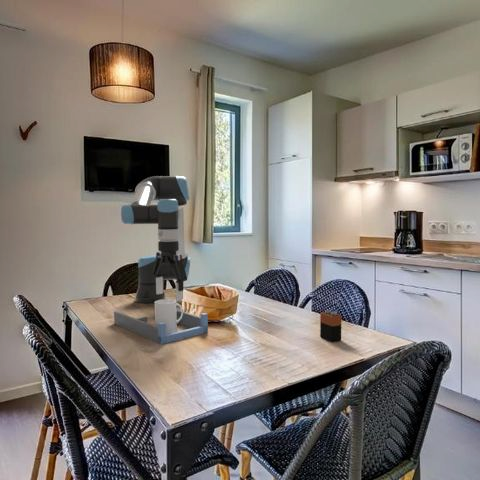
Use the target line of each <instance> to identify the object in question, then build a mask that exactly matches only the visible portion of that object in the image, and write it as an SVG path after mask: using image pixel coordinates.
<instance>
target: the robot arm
mask: <svg viewBox="0 0 480 480" xmlns="http://www.w3.org/2000/svg"><path fill="white" fill-rule="evenodd" d="M189 190H190V189H189V186H188V180H187V178H186V176H179V175H169V176H168V175H166V176H165V175H164V176H163V175H160V176H159V175H156V176H155V175H154V176H150V177H147V178H145V179H143V180H142V181H139V183H137V185H136V187H135V190H134V196H133V199H132V200H131V202H130V204H123V205H122V206H121V209H120V216H121V222H122V223H123V224H125V225H126V224H127V225H148V224H149V225H150V224H151V225H157V239H158V240H159V241H158V242H157V243H158V244H157V245H158V246H157V250H158V251H156V253H155V254H154V255H153V254H152V255H146V256H142V257H139V259H138V264H137V268H138V287H137V290H136V293H135V298H134V299H135V302H137V303H140V304H141V303H142V304H151V303H154V304H155V301H157V300H163V299H166V293H165V291H164V281H170V280H171V281H172V280H176V281H175V300H176V301H180V300H184V282H185V281H188V277H189V275H190V268H191V267H190V266H191V265H190V264H191V257H190V256H188V253H187V252H186V251H185V211H184V208H185V206H187V204H188V203H187V202H188V201H190V191H189ZM152 201H157V204H151V203H152Z"/></svg>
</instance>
